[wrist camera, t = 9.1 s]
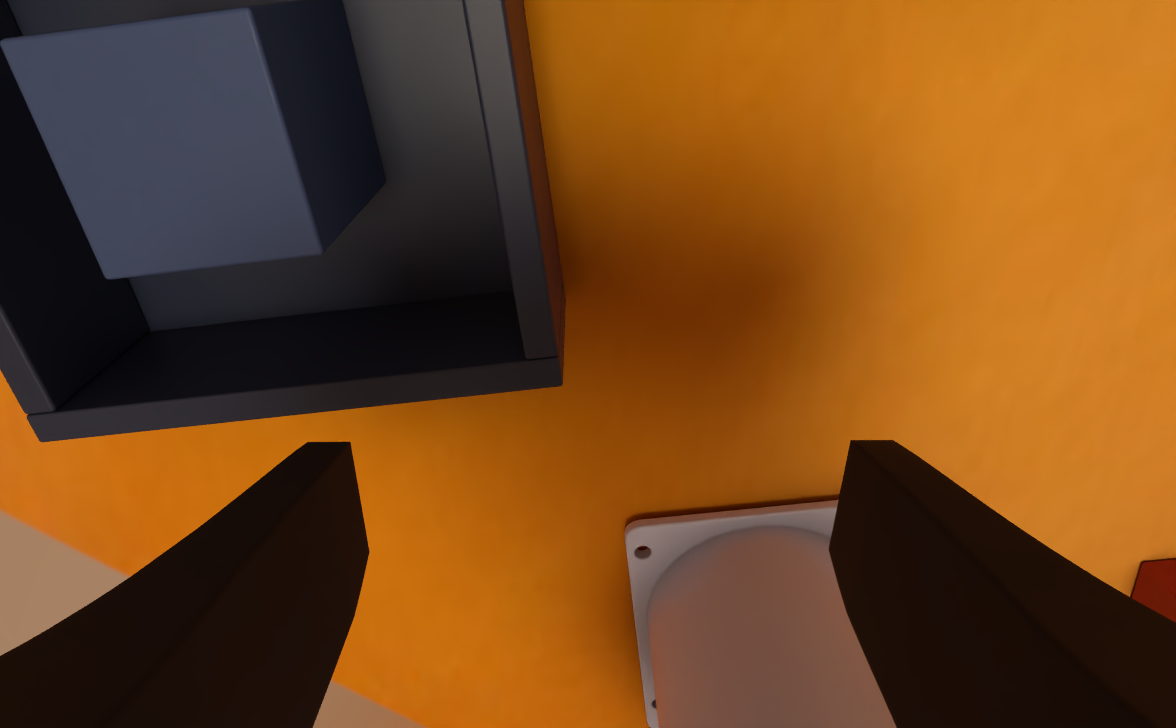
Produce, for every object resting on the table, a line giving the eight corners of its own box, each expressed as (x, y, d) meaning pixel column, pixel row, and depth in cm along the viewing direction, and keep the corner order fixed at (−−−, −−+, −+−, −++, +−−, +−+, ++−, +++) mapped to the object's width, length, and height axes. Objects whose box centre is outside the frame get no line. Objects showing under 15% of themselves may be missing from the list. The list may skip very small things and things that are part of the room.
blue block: (387, 183, 18) (323, 256, 13) (222, 203, 18) (104, 281, 13) (341, -5, 16) (248, 6, 11) (157, 19, 16) (-5, 39, 11)
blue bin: (565, 301, 20) (563, 387, 16) (145, 349, 20) (39, 443, 16) (488, -245, 14) (454, -327, 10) (-82, -162, 15) (-325, -210, 11)
